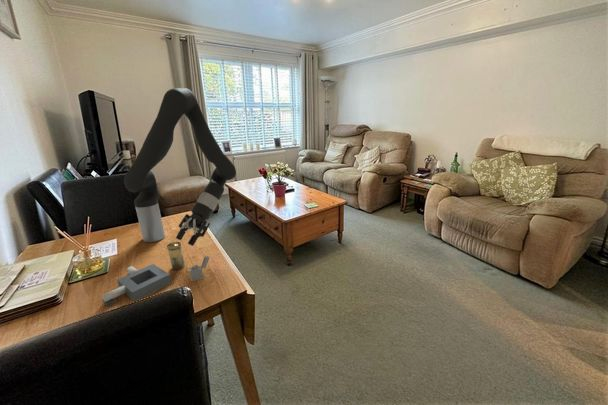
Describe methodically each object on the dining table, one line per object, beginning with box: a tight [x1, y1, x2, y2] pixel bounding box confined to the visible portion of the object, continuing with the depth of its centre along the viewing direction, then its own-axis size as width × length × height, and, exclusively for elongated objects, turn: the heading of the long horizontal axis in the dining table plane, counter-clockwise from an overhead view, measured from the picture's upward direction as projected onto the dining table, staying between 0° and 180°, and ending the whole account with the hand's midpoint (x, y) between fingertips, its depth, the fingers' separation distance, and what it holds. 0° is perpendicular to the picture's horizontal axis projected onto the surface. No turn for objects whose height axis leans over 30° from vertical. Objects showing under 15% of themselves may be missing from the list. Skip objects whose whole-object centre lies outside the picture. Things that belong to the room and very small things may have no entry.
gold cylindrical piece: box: [166, 241, 185, 271], centre depth 102 cm, size 5×5×10 cm
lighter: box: [188, 255, 210, 282], centre depth 95 cm, size 7×2×8 cm, turn 115°
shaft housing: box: [101, 263, 172, 307], centre depth 91 cm, size 17×18×4 cm
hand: (184, 242), depth 104 cm, fingers open, 8 cm apart
